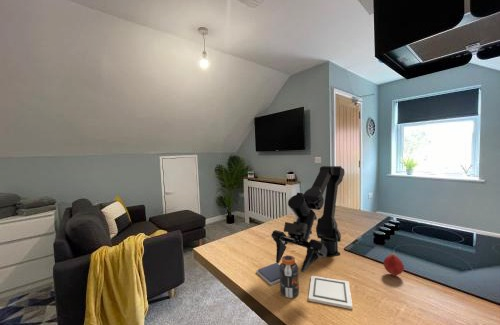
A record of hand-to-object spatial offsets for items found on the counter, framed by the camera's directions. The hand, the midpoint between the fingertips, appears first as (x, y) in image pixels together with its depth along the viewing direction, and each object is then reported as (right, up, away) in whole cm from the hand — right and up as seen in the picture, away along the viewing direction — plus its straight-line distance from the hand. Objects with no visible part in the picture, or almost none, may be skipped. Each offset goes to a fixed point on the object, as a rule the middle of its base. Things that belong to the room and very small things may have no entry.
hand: (289, 267), depth 67 cm
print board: (+13, -7, -1) cm, 15 cm away
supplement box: (+17, -6, +46) cm, 49 cm away
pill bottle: (0, -8, 0) cm, 8 cm away
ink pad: (-4, -8, +11) cm, 14 cm away
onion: (+38, -6, +6) cm, 39 cm away
